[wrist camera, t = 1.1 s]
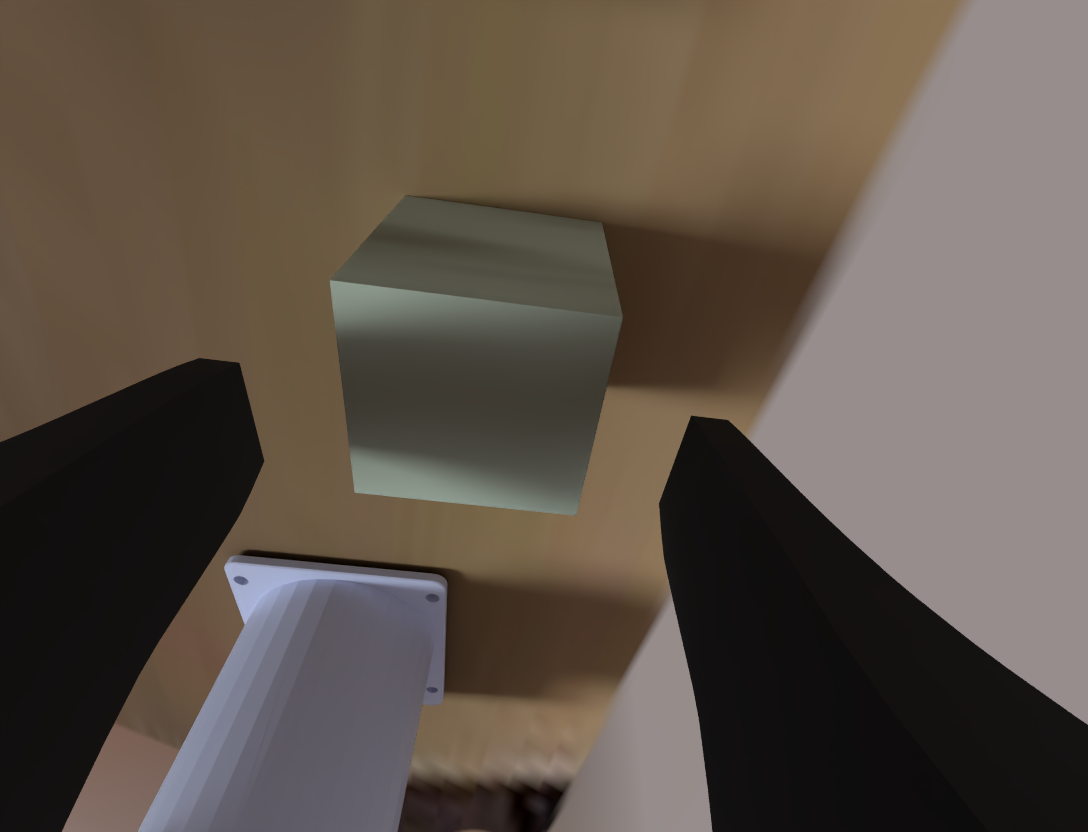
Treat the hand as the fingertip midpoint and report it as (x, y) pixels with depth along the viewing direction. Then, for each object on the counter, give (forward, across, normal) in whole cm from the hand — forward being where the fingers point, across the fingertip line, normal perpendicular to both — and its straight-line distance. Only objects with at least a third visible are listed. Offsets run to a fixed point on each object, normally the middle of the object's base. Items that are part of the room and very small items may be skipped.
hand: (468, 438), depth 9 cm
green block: (+6, 0, 0) cm, 6 cm away
